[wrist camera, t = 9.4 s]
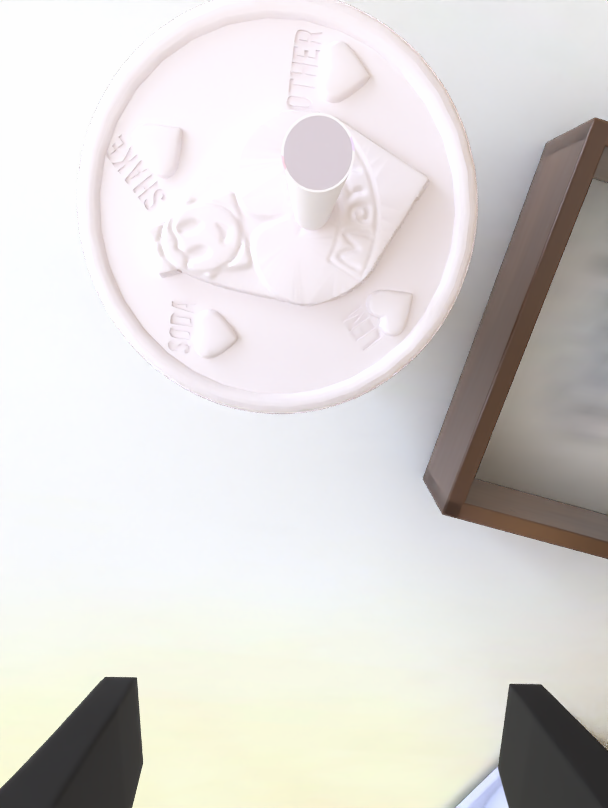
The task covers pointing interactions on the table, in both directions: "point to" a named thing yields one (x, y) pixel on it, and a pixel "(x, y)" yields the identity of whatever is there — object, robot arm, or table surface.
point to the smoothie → (277, 203)
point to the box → (519, 355)
